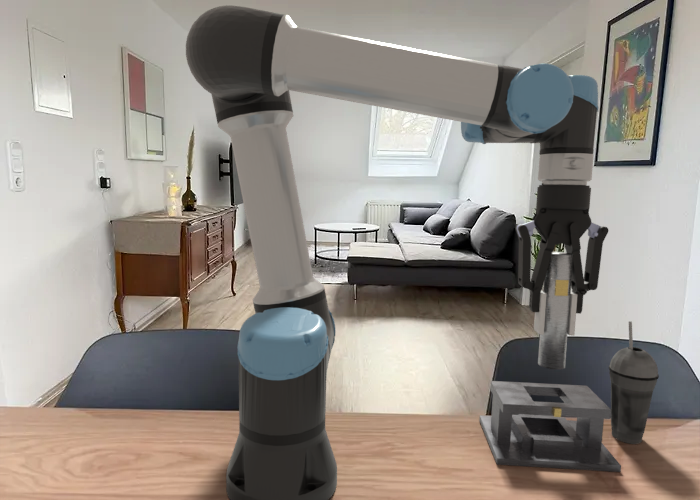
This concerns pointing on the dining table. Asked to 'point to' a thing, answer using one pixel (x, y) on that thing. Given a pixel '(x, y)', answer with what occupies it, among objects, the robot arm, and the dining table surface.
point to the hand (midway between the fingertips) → (553, 332)
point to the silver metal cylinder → (556, 311)
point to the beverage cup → (631, 391)
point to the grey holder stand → (547, 427)
